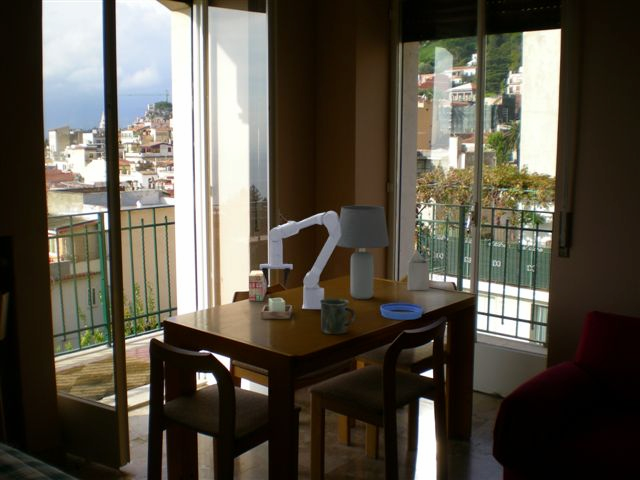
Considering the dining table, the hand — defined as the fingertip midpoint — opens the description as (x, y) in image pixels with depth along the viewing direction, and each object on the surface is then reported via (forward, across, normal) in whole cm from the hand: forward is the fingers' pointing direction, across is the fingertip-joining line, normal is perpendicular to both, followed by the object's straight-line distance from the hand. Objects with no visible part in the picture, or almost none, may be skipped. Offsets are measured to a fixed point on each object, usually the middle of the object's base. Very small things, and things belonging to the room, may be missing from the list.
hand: (276, 284), depth 307 cm
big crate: (+10, -1, +16) cm, 19 cm away
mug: (+10, -27, +42) cm, 51 cm away
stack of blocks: (+10, +10, -22) cm, 27 cm away
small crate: (+9, -1, +16) cm, 18 cm away
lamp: (+10, -39, -19) cm, 45 cm away
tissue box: (+10, -70, -41) cm, 82 cm away
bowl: (+10, -54, +14) cm, 57 cm away
